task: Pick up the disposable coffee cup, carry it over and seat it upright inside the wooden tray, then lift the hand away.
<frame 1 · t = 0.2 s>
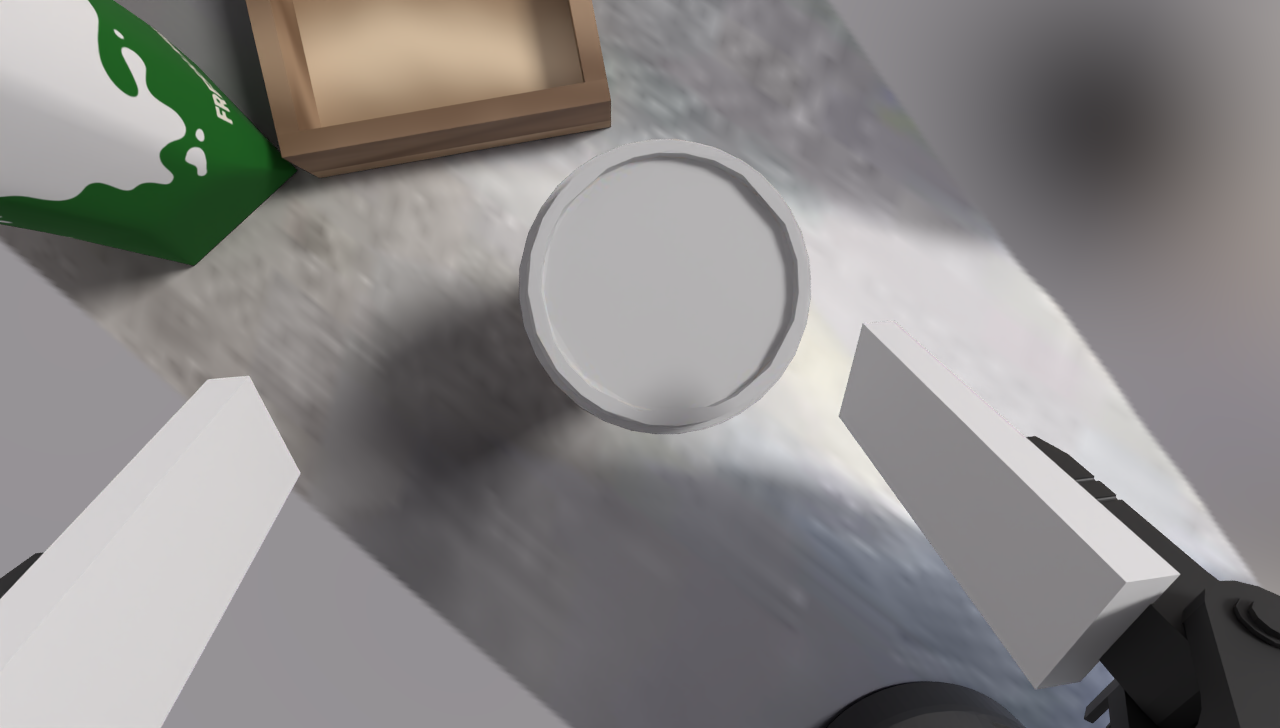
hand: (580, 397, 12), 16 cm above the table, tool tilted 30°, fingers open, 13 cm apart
milk carton: (197, 168, 26), on the table
disposable coffee cup: (645, 307, 28), on the table
wooden tray: (435, 2, 26), on the table
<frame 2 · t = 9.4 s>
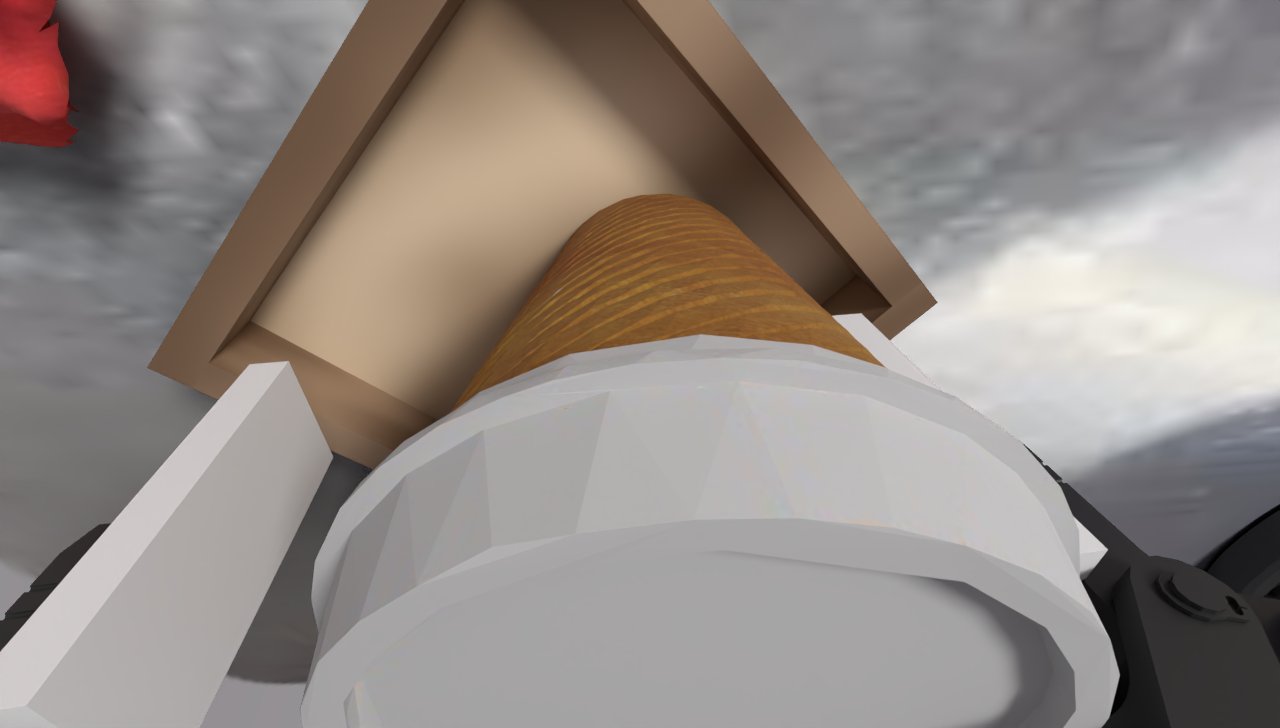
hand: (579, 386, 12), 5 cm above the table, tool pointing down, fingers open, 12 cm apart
disposable coffee cup: (656, 294, 16), point 1 cm above the table, touching wooden tray, gripper
wooden tray: (571, 285, 17), on the table
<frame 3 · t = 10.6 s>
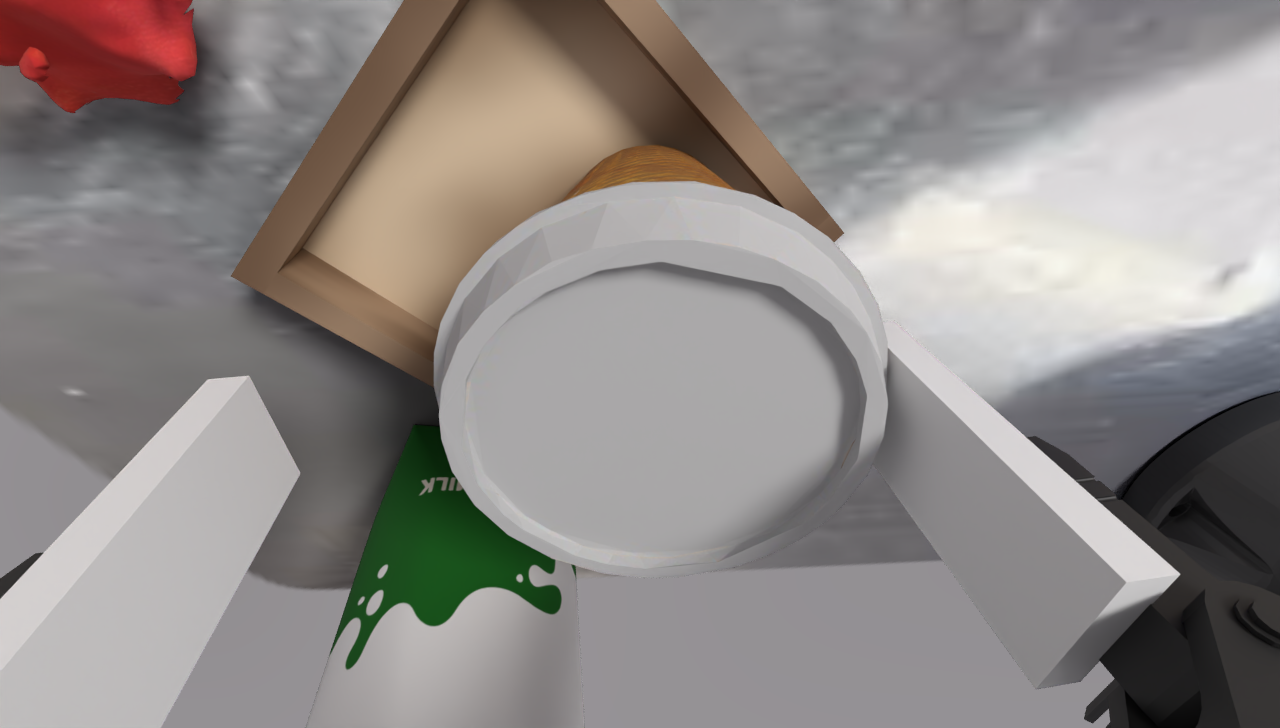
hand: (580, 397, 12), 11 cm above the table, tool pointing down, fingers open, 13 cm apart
milk carton: (484, 477, 28), on the table
disposable coffee cup: (649, 229, 20), point 1 cm above the table, touching wooden tray
wooden tray: (556, 224, 21), on the table
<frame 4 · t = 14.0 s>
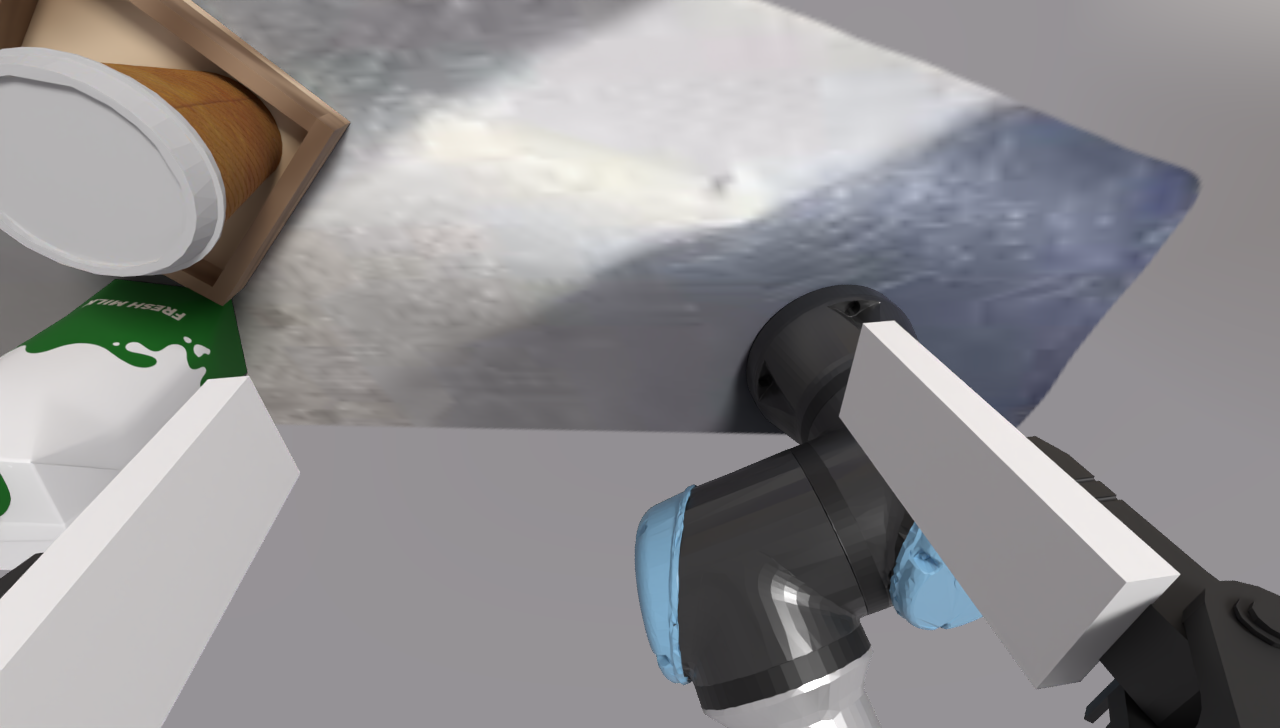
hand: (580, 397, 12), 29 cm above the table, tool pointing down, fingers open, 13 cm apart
milk carton: (187, 327, 39), on the table
disposable coffee cup: (226, 129, 32), point 1 cm above the table, touching wooden tray
wooden tray: (168, 129, 32), on the table
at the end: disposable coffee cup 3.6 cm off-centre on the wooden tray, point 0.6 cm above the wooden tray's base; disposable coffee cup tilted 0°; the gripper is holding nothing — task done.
